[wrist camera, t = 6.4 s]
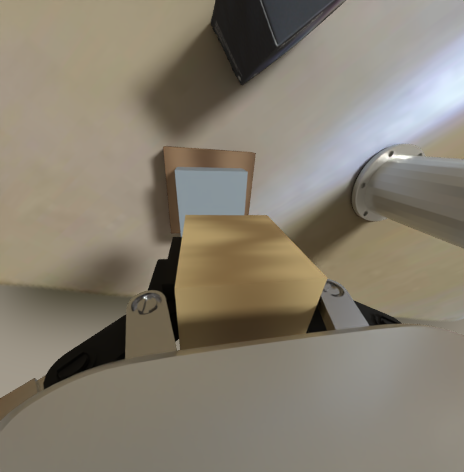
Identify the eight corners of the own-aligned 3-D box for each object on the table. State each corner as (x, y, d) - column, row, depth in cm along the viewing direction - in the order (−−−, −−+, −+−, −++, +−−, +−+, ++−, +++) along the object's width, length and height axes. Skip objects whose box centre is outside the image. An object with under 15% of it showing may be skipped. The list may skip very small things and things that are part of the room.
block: (267, 215, 11) (327, 278, 6) (256, 277, 14) (294, 362, 8) (185, 214, 10) (174, 288, 5) (188, 281, 13) (183, 380, 7)
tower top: (241, 168, 23) (247, 171, 21) (238, 225, 27) (242, 234, 24) (177, 166, 22) (174, 170, 19) (182, 227, 25) (181, 237, 23)
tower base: (249, 151, 25) (255, 153, 23) (241, 224, 30) (246, 232, 28) (166, 146, 23) (163, 146, 21) (173, 224, 28) (171, 233, 26)
